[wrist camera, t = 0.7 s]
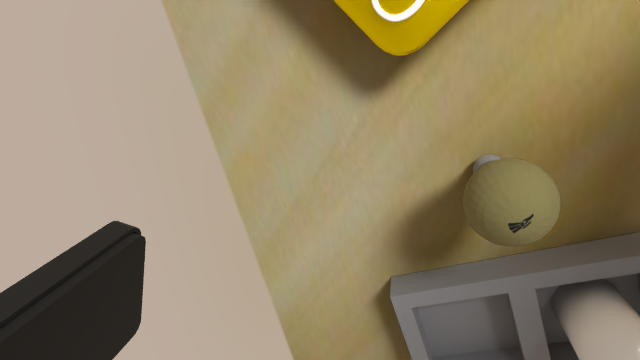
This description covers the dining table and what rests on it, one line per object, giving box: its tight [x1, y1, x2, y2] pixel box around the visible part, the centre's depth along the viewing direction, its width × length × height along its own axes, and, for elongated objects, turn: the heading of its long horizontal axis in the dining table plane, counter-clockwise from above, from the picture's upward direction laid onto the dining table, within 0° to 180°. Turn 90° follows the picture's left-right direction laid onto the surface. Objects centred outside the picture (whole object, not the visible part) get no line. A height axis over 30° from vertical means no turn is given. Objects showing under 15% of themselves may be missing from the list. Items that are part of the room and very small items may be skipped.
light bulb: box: [463, 155, 561, 246], centre depth 26 cm, size 6×6×10 cm
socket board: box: [390, 232, 640, 360], centre depth 33 cm, size 21×11×3 cm, turn 110°
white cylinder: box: [552, 279, 640, 360], centre depth 29 cm, size 5×5×8 cm
